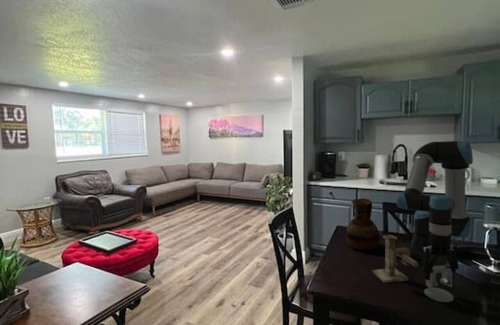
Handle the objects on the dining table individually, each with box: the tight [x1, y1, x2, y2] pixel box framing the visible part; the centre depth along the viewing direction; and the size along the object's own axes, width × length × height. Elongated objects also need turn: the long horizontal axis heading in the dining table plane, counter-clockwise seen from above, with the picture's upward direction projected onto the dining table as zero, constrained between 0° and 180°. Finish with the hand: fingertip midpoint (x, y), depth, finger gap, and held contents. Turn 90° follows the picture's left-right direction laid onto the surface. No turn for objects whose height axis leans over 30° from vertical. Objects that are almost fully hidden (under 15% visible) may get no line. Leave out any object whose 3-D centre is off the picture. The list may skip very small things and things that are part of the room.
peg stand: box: [372, 234, 419, 284], centre depth 124 cm, size 12×22×20 cm, turn 6°
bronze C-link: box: [389, 247, 411, 267], centre depth 123 cm, size 8×3×7 cm, turn 96°
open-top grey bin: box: [431, 264, 451, 287], centre depth 113 cm, size 8×3×7 cm, turn 96°
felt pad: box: [424, 287, 454, 303], centre depth 114 cm, size 10×10×1 cm
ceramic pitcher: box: [345, 198, 381, 251], centre depth 167 cm, size 20×20×30 cm
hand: (438, 285), depth 114 cm, fingers closed on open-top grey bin, 8 cm apart
